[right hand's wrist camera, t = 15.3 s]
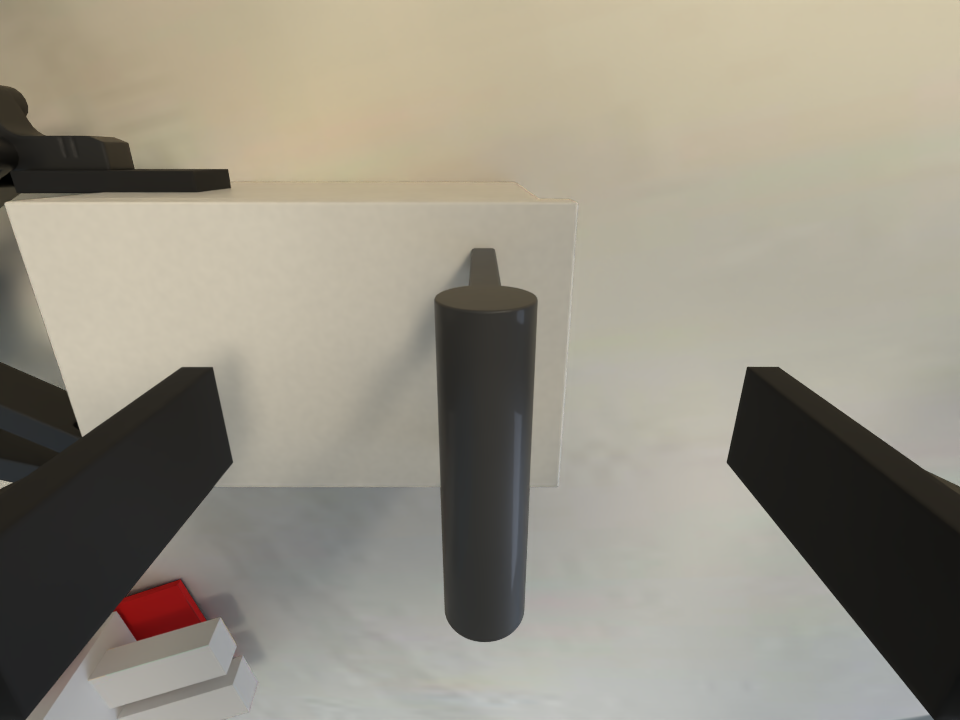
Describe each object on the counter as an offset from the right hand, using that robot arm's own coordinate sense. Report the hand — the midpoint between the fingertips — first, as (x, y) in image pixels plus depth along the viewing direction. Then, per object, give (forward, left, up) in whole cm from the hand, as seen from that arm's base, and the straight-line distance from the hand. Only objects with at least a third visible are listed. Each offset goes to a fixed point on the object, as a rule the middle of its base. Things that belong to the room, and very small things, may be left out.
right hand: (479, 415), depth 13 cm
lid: (+3, -4, -5) cm, 7 cm away
